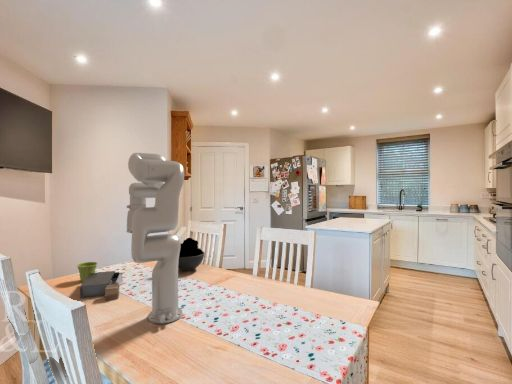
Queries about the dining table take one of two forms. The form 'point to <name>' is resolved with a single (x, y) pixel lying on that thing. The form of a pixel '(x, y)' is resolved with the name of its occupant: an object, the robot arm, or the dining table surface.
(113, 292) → the block
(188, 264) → the bowl of black rocks
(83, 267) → the plant pot
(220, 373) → the dining table surface
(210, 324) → the dining table surface
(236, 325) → the dining table surface
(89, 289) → the player
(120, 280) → the tray
